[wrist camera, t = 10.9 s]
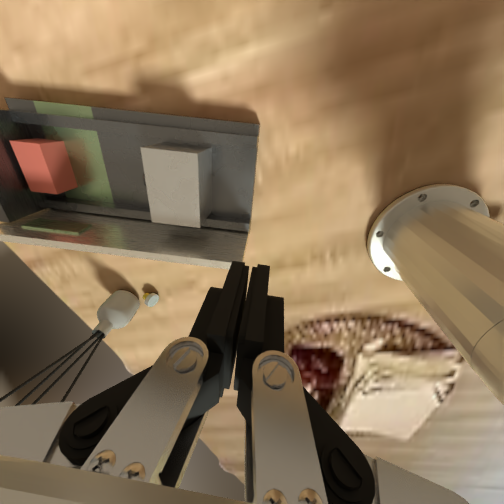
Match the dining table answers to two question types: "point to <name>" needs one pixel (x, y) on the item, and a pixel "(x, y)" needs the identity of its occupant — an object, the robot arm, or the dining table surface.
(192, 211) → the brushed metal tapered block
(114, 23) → the dining table surface
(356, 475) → the robot arm
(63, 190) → the salmon pink rectangular block
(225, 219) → the grey compartment tray
